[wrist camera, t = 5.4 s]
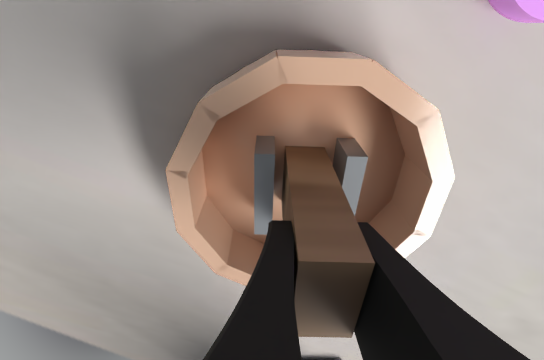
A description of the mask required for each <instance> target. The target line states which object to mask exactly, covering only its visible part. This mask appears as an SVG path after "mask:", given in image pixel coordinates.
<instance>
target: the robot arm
mask: <svg viewBox="0 0 544 360" xmlns="http://www.w3.org/2000/svg"><path fill="white" fill-rule="evenodd" d="M357 223H358V225H359V227H360V230H361V232H362V234H363V236H364V239H365V241H366V243H367V246H368V248H369V250H370V252H371V255H372V257H373V259H374V262H375V265H374V268H373V271H372V275H371V278H370V281H369V284H368V287H367V291H366V294H365V297H364V300H363V303H362V307H361V310H360V313H359V316H358V319H357V323H356V326H355V329H354V332H355V335H356V338H357V342H358V345H359V348H360V351H361V354H362V358H363V360H530V359H528V358H527V357H526V356H524V355H523V354H521V353H520V352H518V351H517V350H516V349H514V348H513V347H512V346H510V345H509V344H507V343H506V342H505V341H503V340H502V339H501V338H499V337H498V336H497V335H495V334H494V333H493V332H491V331H490V330H489V329H487V328H486V327H485V326H483V325H482V324H481V323H479V322H478V321H477V320H475V319H474V318H473V317H472V316H470V315H469V314H468V313H467V312H465V311H464V310H463V309H462V308H460V307H459V306H458V305H457V304H455V303H454V302H453V301H452V300H451V299H450V298H448V297H447V296H446V295H445V294H444V293H442V292H441V291H440V290H439V289H438V288H437V287H435V286H434V285H433V284H432V283H431V282H430V281H429V280H428V279H426V278H425V277H424V276H423V275H422V274H421V273H420V272H419V271H418V270H416V269H415V268H414V267H413V266H412V265H411V264H410V263H409V262H408V261H407V260H406V259H405V258H404V257H403V256H402V255H401V254H399V253H398V252H397V251H396V250H395V249H394V248H393V247H392V246H391V245H390V244H389V243H388V242H387V241H386V240H385V239H384V238H383V237H382V236H381V235H380V234H379V233H378V232H377V231H376V230H375V229H374V228H373V227H372V226H371V225H370V224H369V223H367V222H357ZM203 360H301V353H300V345H299V338H298V329H297V321H296V313H295V302H294V232H293V227H292V222H291V221H284V220H272V221H271V222H269V225H268V232H267V236H266V240H265V243H264V246H263V249H262V252H261V254H260V257H259V259H258V261H257V264H256V266H255V269H254V271H253V273H252V275H251V278H250V280H249V282H248V284H247V286H246V288H245V290H244V292H243V294H242V296H241V298H240V300H239V301H238V303H237V305H236V307H235V309H234V311H233V312H232V314H231V316H230V318H229V319H228V321H227V323H226V324H225V326H224V328H223V329H222V331H221V333H220V334H219V336H218V337H217V339H216V340H215V342H214V344H213V345H212V347H211V348H210V350H209V351H208V353H207V354H206V356H205V358H204V359H203Z"/></svg>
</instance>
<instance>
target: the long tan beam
mask: <svg viewBox="0 0 544 360" xmlns="http://www.w3.org/2000/svg"><path fill="white" fill-rule="evenodd" d="M281 202H282V218H283V220H284V221H291V222H292V227H293V232H294V302H295V313H296V321H297V329H298V337H347V338H352V335H353V332H354V329H355V326H356V323H357V319H358V316H359V313H360V310H361V307H362V303H363V300H364V297H365V294H366V291H367V287H368V284H369V281H370V278H371V275H372V271H373V268H374V265H375V262H374V259H373V257H372V255H371V252H370V250H369V248H368V246H367V243H366V241H365V239H364V236H363V234H362V232H361V230H360V227H359V225H358V223H357V220H356V218H355V216H354V214H353V211H352V209H351V207H350V204H349V202H348V200H347V198H346V195H345V193H344V191H343V188H342V186H341V184H340V182H339V179H338V177H337V175H336V172H335V170H334V168H333V166H332V163H331V161H330V159H329V156H328V154H327V152H326V150H325V147H308V146H285V155H284V170H283V184H282V199H281Z"/></svg>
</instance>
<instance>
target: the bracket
mask: <svg viewBox="0 0 544 360" xmlns="http://www.w3.org/2000/svg"><path fill="white" fill-rule="evenodd" d="M488 1H489V3H490V4H491V6H492V7H493V8H494V9H495V10H496V11H497V12H498V13H499V14H501V15H502V16H504V17H506V18H508V19H510V20H514V21H517V22H524V23H544V0H488Z"/></svg>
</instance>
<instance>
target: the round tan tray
mask: <svg viewBox="0 0 544 360" xmlns="http://www.w3.org/2000/svg"><path fill="white" fill-rule="evenodd" d="M285 146H308V147H325V150H326V152H327V154H328V156H329V159H330V161H331V163H332V166H333V168H334V170H335V172H336V175H337V177H338V179H339V182H340V184H341V186H342V188H343V191H344V193H345V195H346V198H347V200H348V202H349V204H350V207H351V209H352V211H353V214H354V216H355V218H356V220H357V222H367V223H369V224H370V225H371V226H372V227H373V228H374V229H375V230H376V231H377V232H378V233H379V234H380V235H381V236H382V237H383V238H384V239H385V240H386V241H387V242H388V243H389V244H390V245H391V246H392V247H393V248H394V249H395V250H396V251H397V252H398V253H399V254H401V255H402V256H403V257H404V258H406V257H407V256H408V255H410V254H411V253H412V252H413V251H414V250H415V249H417V248H418V247H419V246H420V245H421V244H422V243H424V242H425V241H426V240H427V239H428V238H430V236H431V235H432V232H433V230H434V227H435V225H436V223H437V220H438V218H439V215H440V213H441V210H442V208H443V206H444V203H445V201H446V198H447V196H448V194H449V191H450V189H451V186H452V184H453V181H454V179H455V174H454V170H453V166H452V161H451V157H450V153H449V149H448V144H447V140H446V136H445V131H444V127H443V123H442V119H441V114H440V110H439V109H438V108H437V107H435V106H434V105H433V104H431V103H430V102H429V101H427V100H426V99H425V98H423V97H422V96H421V95H419V94H418V93H417V92H416V91H414V90H413V89H412V88H410V87H409V86H408V85H406V84H405V83H404V82H402V81H401V80H400V79H398V78H397V77H396V76H394V75H393V74H392V73H391V72H389V71H388V70H387V69H385V68H384V67H383V66H381V65H380V64H379V63H377V62H376V61H375V60H373V59H370V58H367V57H364V56H362V55H359V54H356V53H353V52H336V51H320V50H278V49H276V50H274V51H272V52H271V53H269V54H267V55H266V56H264V57H262V58H260V59H259V60H257V61H255V62H253V63H251V64H249V65H247V66H245V67H243V68H242V69H241V70H239V71H238V72H236V73H235V74H233V75H232V76H230V77H228V78H227V79H225V80H223V81H221V82H220V83H218V84H216V85H215V86H213V87H212V88H211V89H210V90H209V91H208V92H207V93H206V94H205V95H204V97H203V98H202V99H201V100H200V101H199V102H198V103H197V105H196V107H195V109H194V111H193V113H192V116H191V118H190V120H189V122H188V124H187V126H186V128H185V130H184V132H183V134H182V136H181V138H180V140H179V143H178V145H177V147H176V149H175V151H174V153H173V155H172V157H171V159H170V161H169V163H168V165H167V167H166V170H165V171H166V177H167V182H168V188H169V193H170V199H171V204H172V210H173V215H174V221H175V226H176V231H177V232H178V233H179V234H180V236H181V237H182V238H183V239H184V240H185V241H186V242H187V243H188V244H189V245H190V246H191V248H192V249H193V250H194V251H195V252H196V253H197V254H198V255H199V256H200V257H201V258H202V260H203V261H204V262H205V263H206V264H207V265H208V266H209V267H210V268H211V269H212V271H213V272H214V273H216V274H218V275H220V276H223V277H225V278H228V279H230V280H233V281H235V282H237V283H240V284H242V285H245V286H247V284H248V282H249V280H250V278H251V275H252V273H253V271H254V269H255V266H256V264H257V261H258V259H259V257H260V254H261V252H262V249H263V246H264V243H265V240H266V236H267V232H268V225H269V222H271V221H272V220H283V218H282V202H281V199H282V184H283V170H284V155H285Z"/></svg>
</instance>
